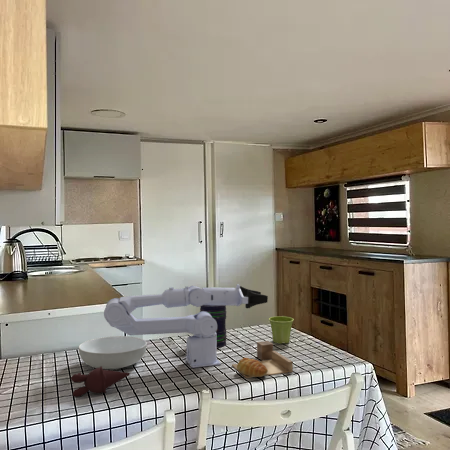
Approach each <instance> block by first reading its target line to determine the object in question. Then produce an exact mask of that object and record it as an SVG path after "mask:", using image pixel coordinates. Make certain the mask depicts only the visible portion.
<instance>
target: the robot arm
mask: <svg viewBox="0 0 450 450" xmlns="http://www.w3.org/2000/svg"><path fill="white" fill-rule="evenodd" d="M168 288H169V289H167V288H166V289H165V290H164V291H163V292H162V293H158V294H157V293H156V294H138V295H126V296H125V295H124V296H121V297H119V298H118V297H115V298H111V299H109V300H108V301H107V302H106V304H105V308H104V311H103V316H104V319H105V321H106V322H107V323H108V325H110V327H112V328H116V329H117V330H119V331H121V332H123V333H124V334H126V335H128V336H142V335H143V336H144V335H163V334H164V335H165V334H182V333H183V334H185V333H187V334H190V336H187V338H186V359H185V360H186V363H188V365H189V366H190V367H191V368H193V369H194V368H201V367H202V368H203V367H211V366H219V365H221V363H222V362H221V361H220V360H218V358H217V357H218V355H217V353H218V351H217V335H216V334H217V333H216V330H217V322H216V320H215V319H214V318H212V316H211V315H210V314H209V313H208V312H205V311H202V312H200V311H199V312H198V313H196V314H188V315H186V316H168V317H143V318H137V317H135V316H134V315H133V312H134V311H135V310H136V309H137V308H143V307H151V306H159V305H163V306H164V307H165V308H167V309H169V308H170V309H171V308H179V307H187V306H189V305H191V306H193V307H196V308H201V307H200V306H202V305H226V306H229V307H230V306H233V307H234V306H236V307H240V306H242V305H244V304H245V308H246V309H251V308H252V307H255V306H258V305H263V304H266V303H268V301H269V300H268V298H269V297H268V295H265V294H261V293H262V292H260V291H257V290H254V289H249V288H246V287H243V286H242V285H240V284H239V283H237V284H236V286H235V287H220V286H219V287H214V286H212V287H200V286H196V285H190V286H189V285H188V286H185V287H181V288H180V287H179V288H174V287H172V286H169V287H168ZM191 334H192V335H191Z"/></svg>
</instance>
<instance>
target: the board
mask: <svg viewBox="0 0 450 450" xmlns="http://www.w3.org/2000/svg"><path fill="white" fill-rule="evenodd" d="M258 361H259V362H260V363H262V364H263V365H265V367H266V368H267V369H268V372H267V374H266V375H264V376H271V375H278V374H281V375H282V374H286V373H288V372H289V373H293V372H294V371H293V367H294V363H293V360H291V359H289V358H288V357H286V356H284V355H283V354H281V353H279V352H277V351H276V350H273V351H272V359H270V360H258ZM237 365H238V363H233V364H231V367H233V368H234V369H235V370H236V371H238V369H237ZM239 373H240V374H241V375H242V376H243V377H245V379H249V378H254V377H253V376H249V375H245V374H243V373H241V372H239ZM289 373H288V374H289ZM264 376H263V377H264Z"/></svg>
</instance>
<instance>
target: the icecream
mask: <svg viewBox="0 0 450 450" xmlns="http://www.w3.org/2000/svg"><path fill="white" fill-rule="evenodd" d="M130 375H131V374H130V372H125V371H117V370H106V369H102V366H101V367H100V368H94V369H92V370H91V371H90V372H88V374H83V373H81V372H78V373H74V374H72V375H71V377H70V381H71V382H73V383H76V384H77V383H78V384H81V383H83V386H80V387H78V388H76V389H75V390H73V391H72V396H73V397H75V398H79V397H81V396H84V395H85V394H87V393H88V392H91V393H93V394H102V393H104V394H106V393H107V389H108V388H110V387H112V386H114V385H115V384H117V383H120V381H121V380H124V379H125V378H127V377H129V376H130Z"/></svg>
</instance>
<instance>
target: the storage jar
mask: <svg viewBox="0 0 450 450" xmlns="http://www.w3.org/2000/svg"><path fill="white" fill-rule="evenodd" d="M226 307H227V305H202V306H200V307H199V312H202V311H205V312H208V313H209V314H210V315H211V316H212V318H214V319H215V320H216V322H217V330H216V333H217V334H216V335H217V348H222V347H225V346H226V345H227V329H226V326H227V325H226V321H227V308H226Z"/></svg>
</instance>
